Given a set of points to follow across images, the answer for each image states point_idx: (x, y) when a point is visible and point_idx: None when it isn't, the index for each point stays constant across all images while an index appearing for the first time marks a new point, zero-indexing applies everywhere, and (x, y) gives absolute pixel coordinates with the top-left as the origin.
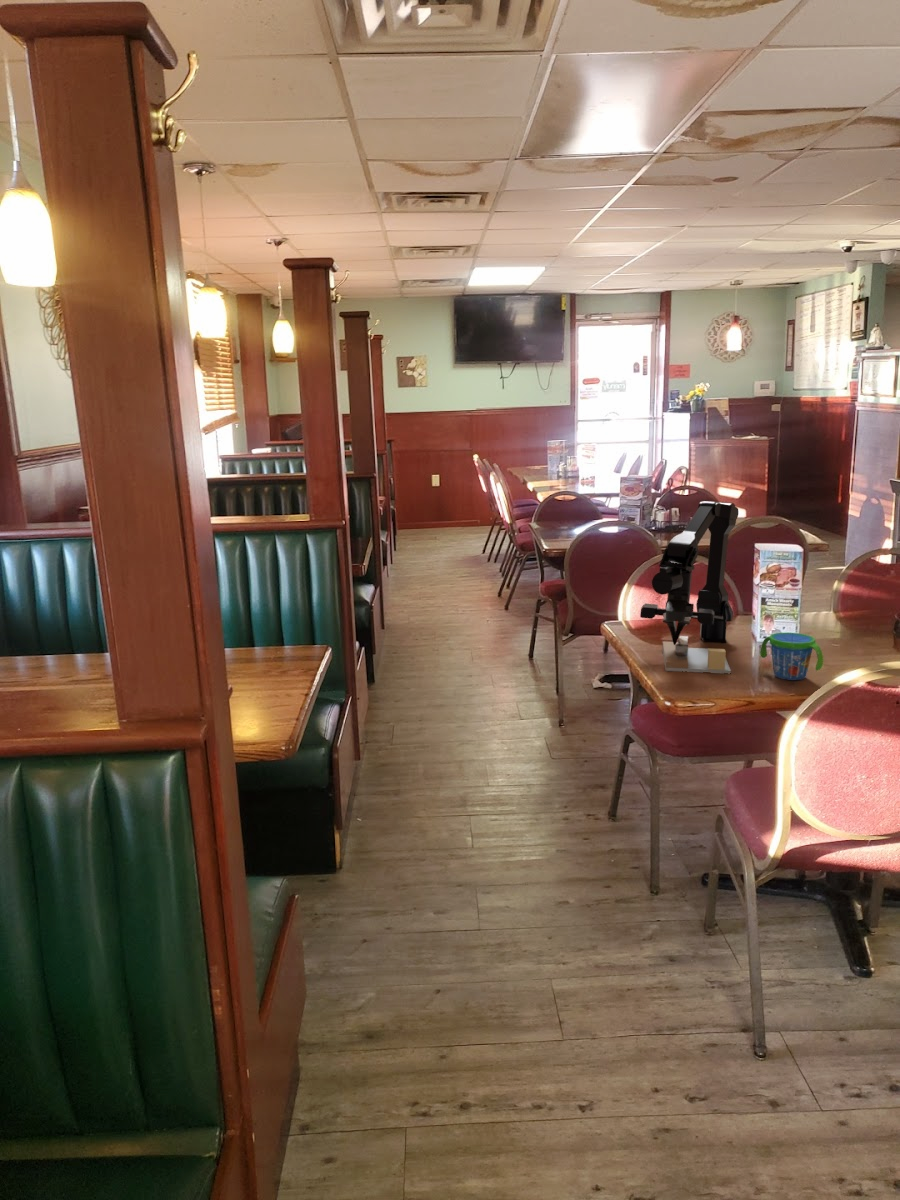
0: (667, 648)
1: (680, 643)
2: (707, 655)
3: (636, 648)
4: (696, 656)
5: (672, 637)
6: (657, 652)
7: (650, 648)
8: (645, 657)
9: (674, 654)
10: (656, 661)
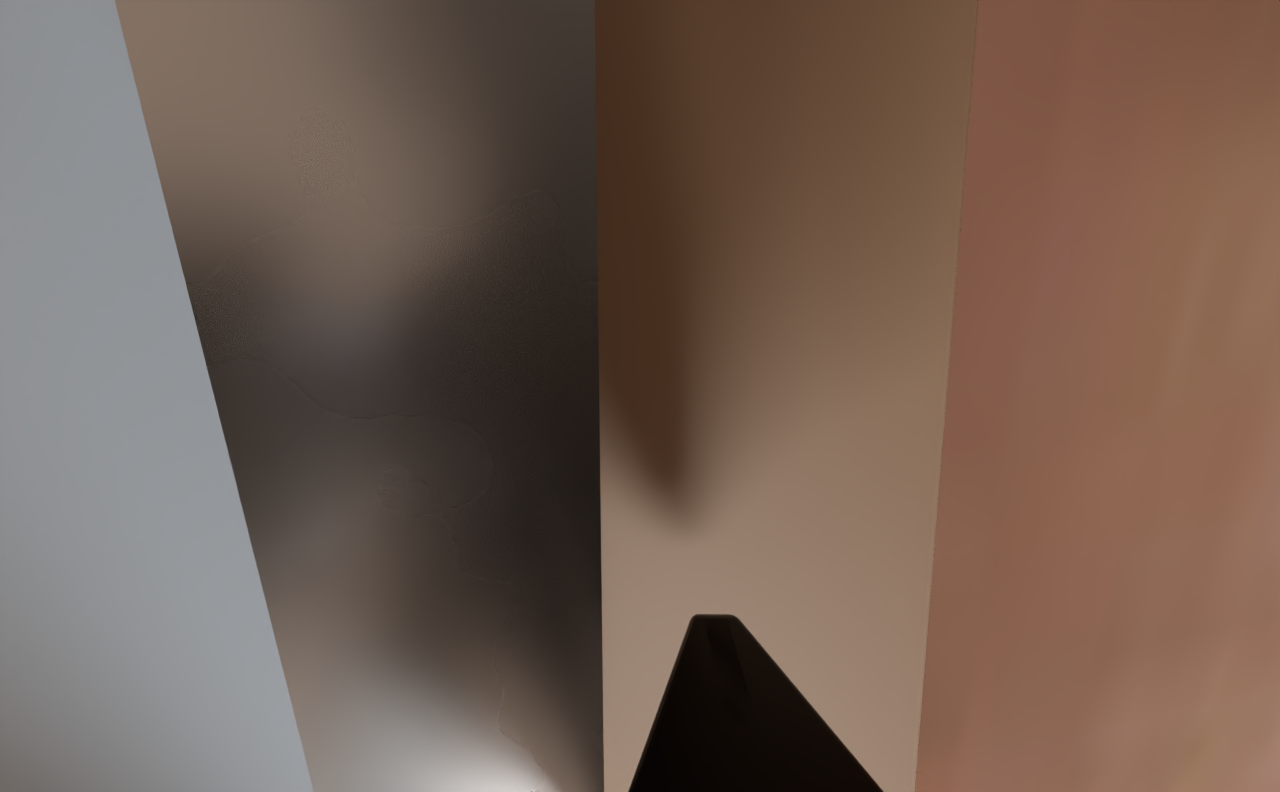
0: (851, 563)
1: (479, 175)
2: (34, 592)
3: (1237, 737)
4: (219, 474)
5: (845, 764)
6: (947, 645)
7: (1026, 785)
8: (1221, 314)
9: (683, 61)
10: (1050, 73)
